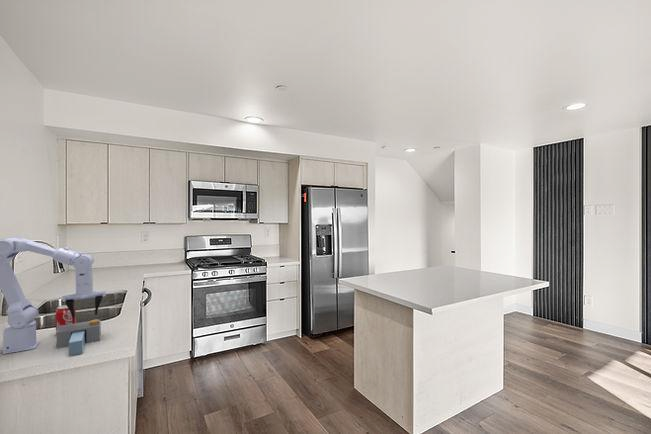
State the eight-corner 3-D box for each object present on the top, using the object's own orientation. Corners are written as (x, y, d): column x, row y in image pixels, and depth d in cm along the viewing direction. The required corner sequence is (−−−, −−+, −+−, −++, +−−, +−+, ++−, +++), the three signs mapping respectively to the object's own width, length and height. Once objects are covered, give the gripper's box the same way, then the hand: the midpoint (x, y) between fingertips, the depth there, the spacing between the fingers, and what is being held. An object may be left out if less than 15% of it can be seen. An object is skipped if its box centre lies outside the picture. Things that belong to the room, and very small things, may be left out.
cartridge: (68, 356, 123) (68, 343, 123) (73, 343, 134) (72, 331, 134) (82, 353, 125) (81, 340, 125) (85, 341, 136) (84, 329, 136)
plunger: (89, 333, 139) (89, 322, 138) (90, 330, 141) (90, 320, 141) (98, 331, 140) (98, 321, 140) (98, 329, 143) (98, 319, 143)
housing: (56, 348, 130) (56, 332, 130) (60, 340, 138) (59, 325, 138) (99, 340, 138) (99, 325, 137) (100, 333, 145) (100, 319, 145)
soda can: (58, 337, 141) (57, 309, 140) (53, 333, 145) (52, 306, 144) (78, 332, 146) (77, 305, 146) (73, 328, 150) (72, 303, 150)
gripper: (60, 287, 130) (61, 321, 130) (104, 283, 137) (105, 315, 138) (63, 284, 136) (64, 316, 136) (105, 280, 143) (106, 310, 144)
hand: (85, 315), depth 138 cm, fingers open, 7 cm apart
